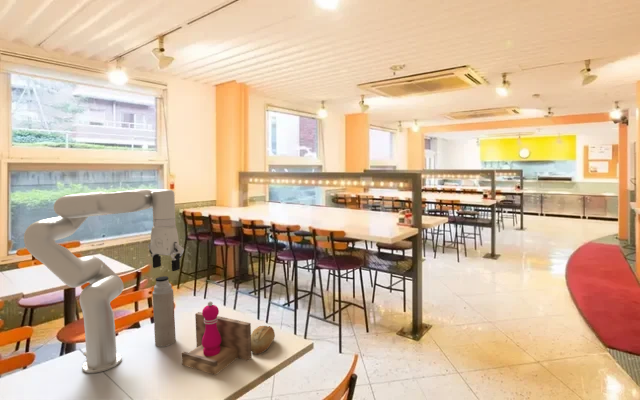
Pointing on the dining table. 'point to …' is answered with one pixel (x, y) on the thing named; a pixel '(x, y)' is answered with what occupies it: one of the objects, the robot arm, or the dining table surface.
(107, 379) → the dining table surface
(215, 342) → the pepper mill
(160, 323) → the thermos bottle
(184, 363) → the wall shelf
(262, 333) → the bread roll
